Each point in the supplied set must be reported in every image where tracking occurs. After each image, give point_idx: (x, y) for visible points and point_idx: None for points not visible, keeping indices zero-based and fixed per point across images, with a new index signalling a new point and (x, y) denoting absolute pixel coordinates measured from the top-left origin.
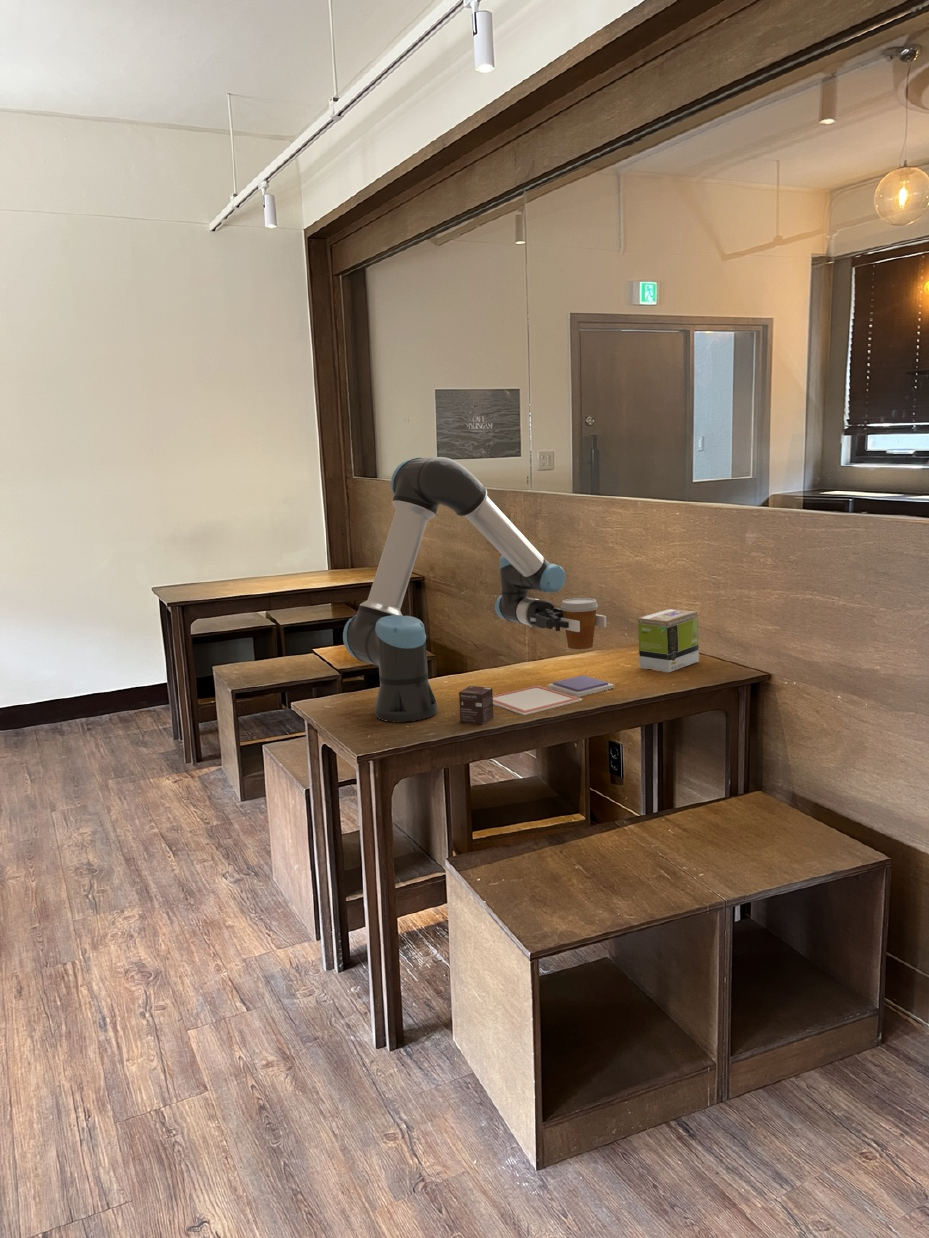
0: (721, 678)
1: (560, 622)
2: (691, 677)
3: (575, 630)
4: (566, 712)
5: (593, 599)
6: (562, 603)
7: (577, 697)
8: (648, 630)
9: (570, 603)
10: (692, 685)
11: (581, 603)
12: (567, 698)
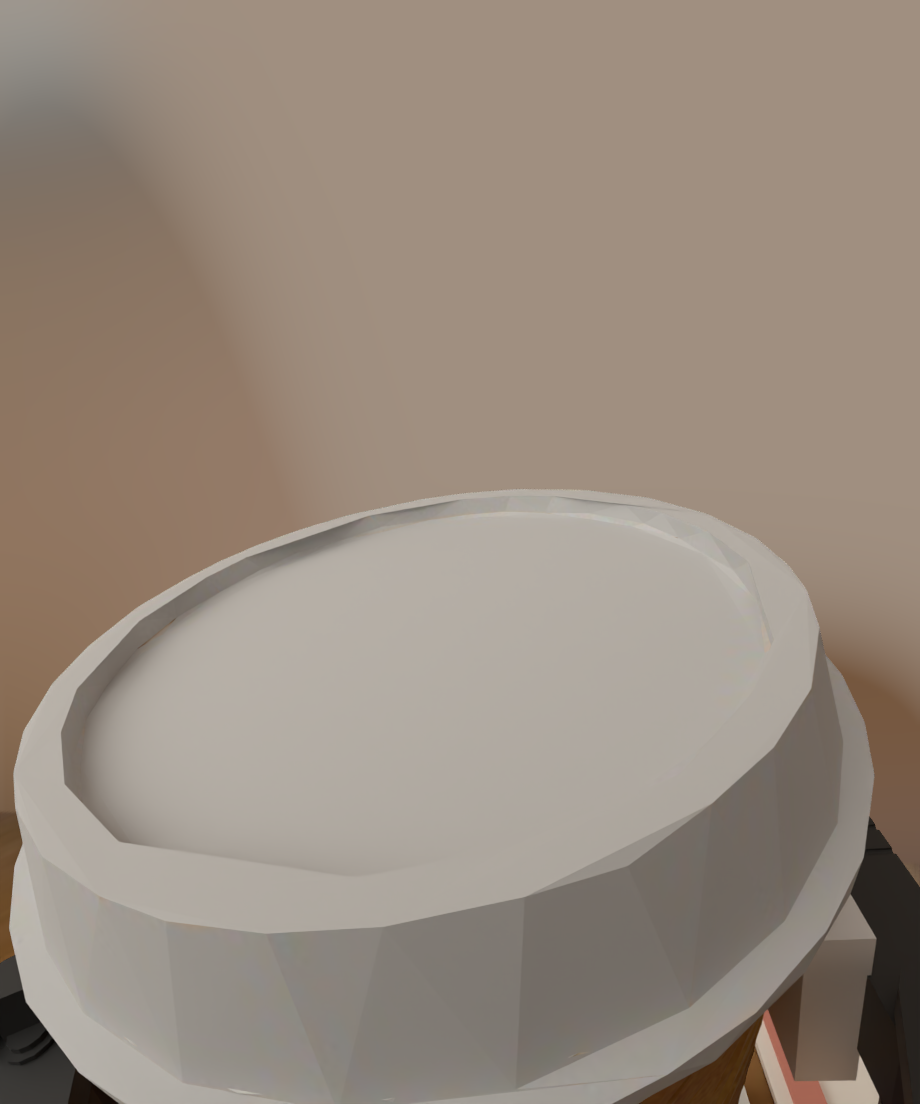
0: (12, 851)
1: (907, 882)
2: (3, 947)
3: None
4: (912, 875)
5: (186, 588)
6: (824, 688)
7: (758, 1048)
8: None
9: (716, 519)
10: None
11: (568, 492)
12: (843, 1081)
